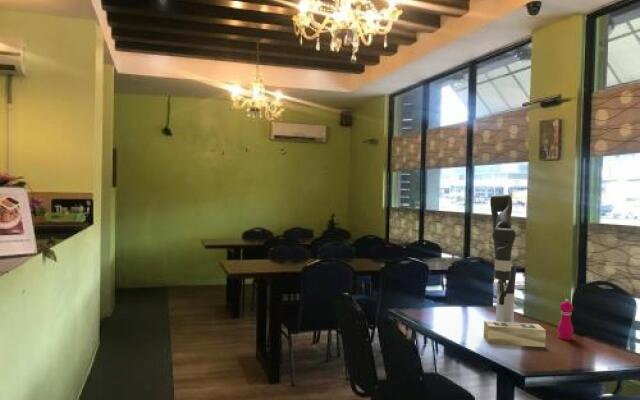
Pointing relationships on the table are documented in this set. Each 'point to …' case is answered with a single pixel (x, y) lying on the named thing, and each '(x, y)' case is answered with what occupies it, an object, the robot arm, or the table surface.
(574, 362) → the table surface
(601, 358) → the table surface
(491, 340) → the collar block
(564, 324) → the pepper mill
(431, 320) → the table surface
